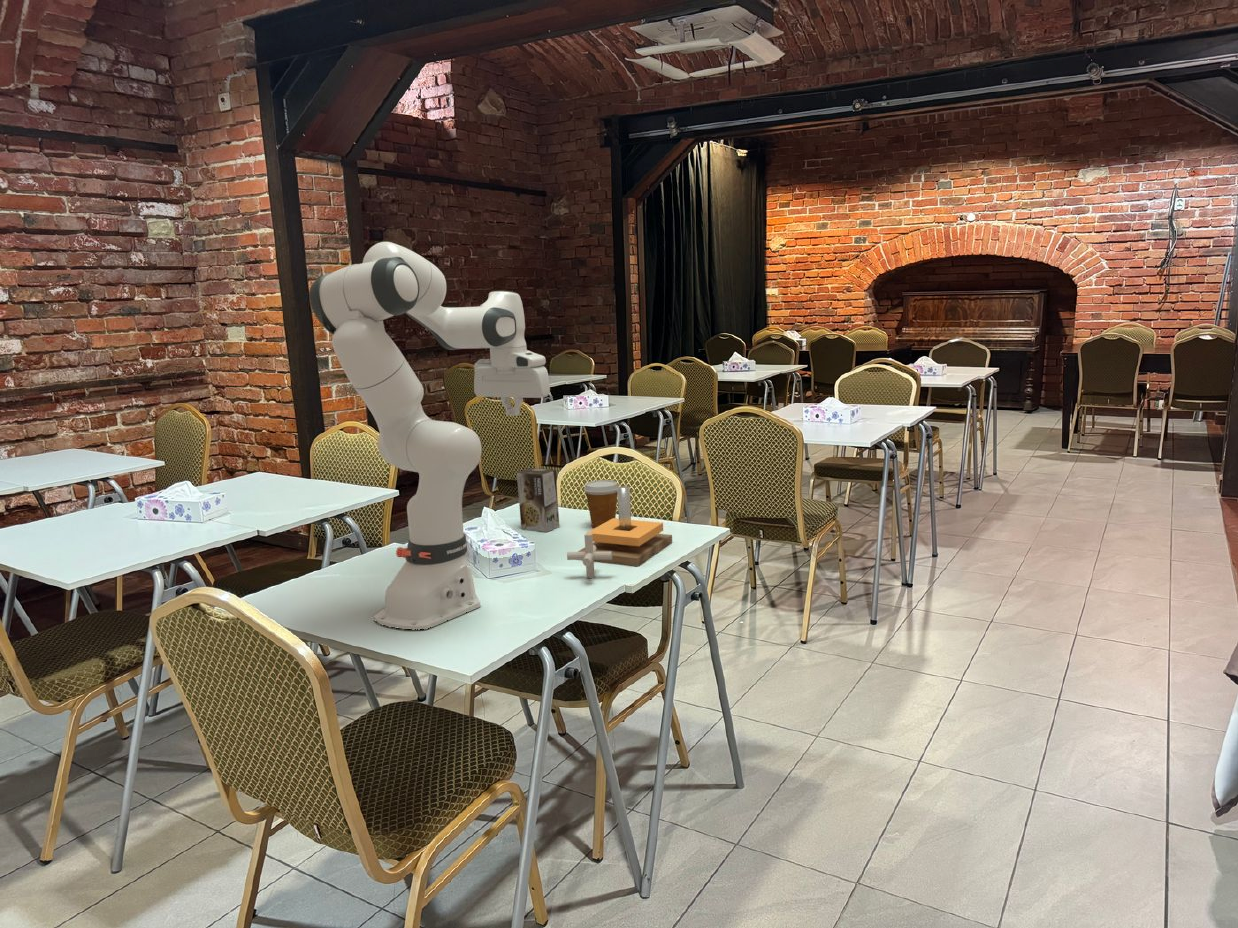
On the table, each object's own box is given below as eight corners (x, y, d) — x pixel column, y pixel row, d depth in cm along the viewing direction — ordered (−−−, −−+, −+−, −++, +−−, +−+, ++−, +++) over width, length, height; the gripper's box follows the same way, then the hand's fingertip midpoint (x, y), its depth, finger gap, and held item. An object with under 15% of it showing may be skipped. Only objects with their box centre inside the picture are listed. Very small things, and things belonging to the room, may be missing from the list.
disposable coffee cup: (587, 522, 237) (585, 480, 235) (621, 520, 237) (619, 478, 234) (584, 531, 228) (582, 488, 226) (620, 530, 228) (618, 486, 225)
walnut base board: (637, 566, 197) (637, 558, 197) (578, 559, 204) (577, 551, 204) (672, 542, 215) (672, 534, 214) (616, 536, 222) (615, 529, 221)
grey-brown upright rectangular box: (560, 526, 234) (557, 469, 231) (546, 532, 229) (542, 474, 225) (534, 523, 239) (530, 467, 235) (519, 529, 233) (515, 471, 230)
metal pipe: (631, 547, 205) (628, 491, 203) (610, 545, 208) (607, 489, 205) (641, 540, 210) (638, 485, 208) (620, 538, 213) (618, 484, 210)
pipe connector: (614, 569, 196) (612, 527, 194) (610, 584, 186) (608, 540, 184) (572, 569, 197) (569, 528, 195) (565, 584, 187) (562, 541, 185)
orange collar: (638, 546, 200) (638, 538, 199) (586, 540, 206) (586, 532, 205) (663, 530, 212) (662, 522, 211) (613, 525, 218) (613, 518, 218)
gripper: (466, 360, 208) (470, 416, 210) (537, 360, 198) (541, 418, 201) (481, 357, 213) (485, 412, 216) (551, 357, 204) (554, 414, 207)
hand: (513, 415), depth 208 cm, fingers closed
